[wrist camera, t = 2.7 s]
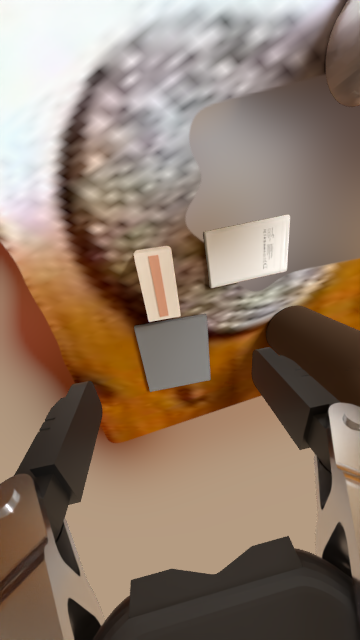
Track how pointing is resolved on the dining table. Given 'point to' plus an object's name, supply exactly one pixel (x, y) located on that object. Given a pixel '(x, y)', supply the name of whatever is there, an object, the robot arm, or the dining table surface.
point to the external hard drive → (247, 250)
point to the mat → (174, 351)
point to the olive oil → (319, 349)
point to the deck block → (158, 282)
